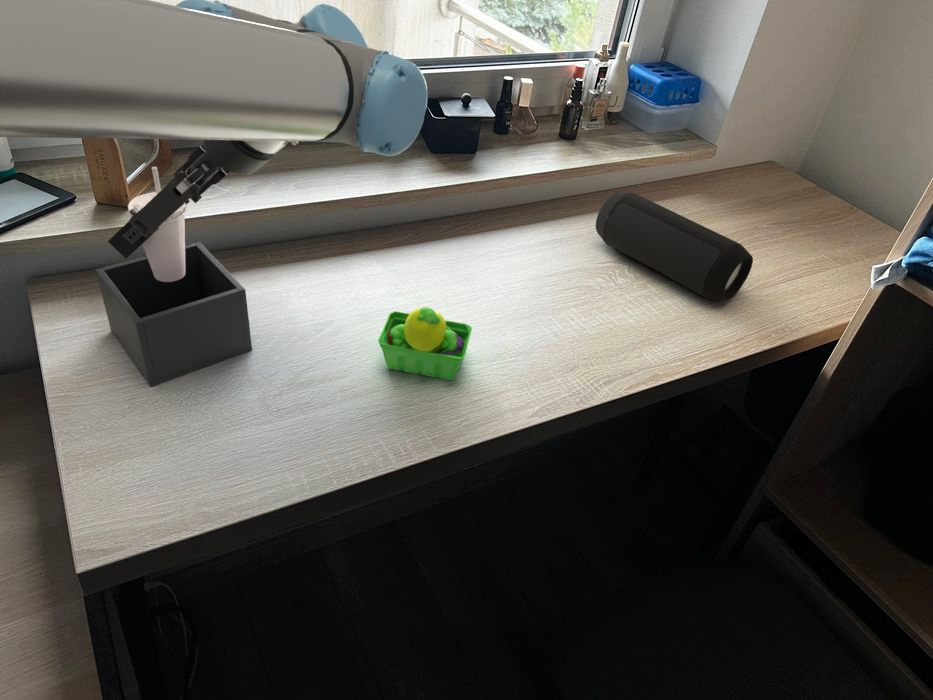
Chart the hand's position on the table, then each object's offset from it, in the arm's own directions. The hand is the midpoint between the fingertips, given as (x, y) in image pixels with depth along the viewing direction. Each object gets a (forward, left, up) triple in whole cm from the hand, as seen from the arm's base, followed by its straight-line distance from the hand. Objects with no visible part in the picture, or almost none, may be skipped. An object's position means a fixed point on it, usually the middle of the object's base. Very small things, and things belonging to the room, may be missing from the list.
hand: (135, 234), depth 88 cm
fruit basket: (+26, -25, -16) cm, 39 cm away
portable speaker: (+76, -27, -16) cm, 82 cm away
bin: (+2, -3, -16) cm, 16 cm away
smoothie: (+2, -3, -5) cm, 6 cm away
